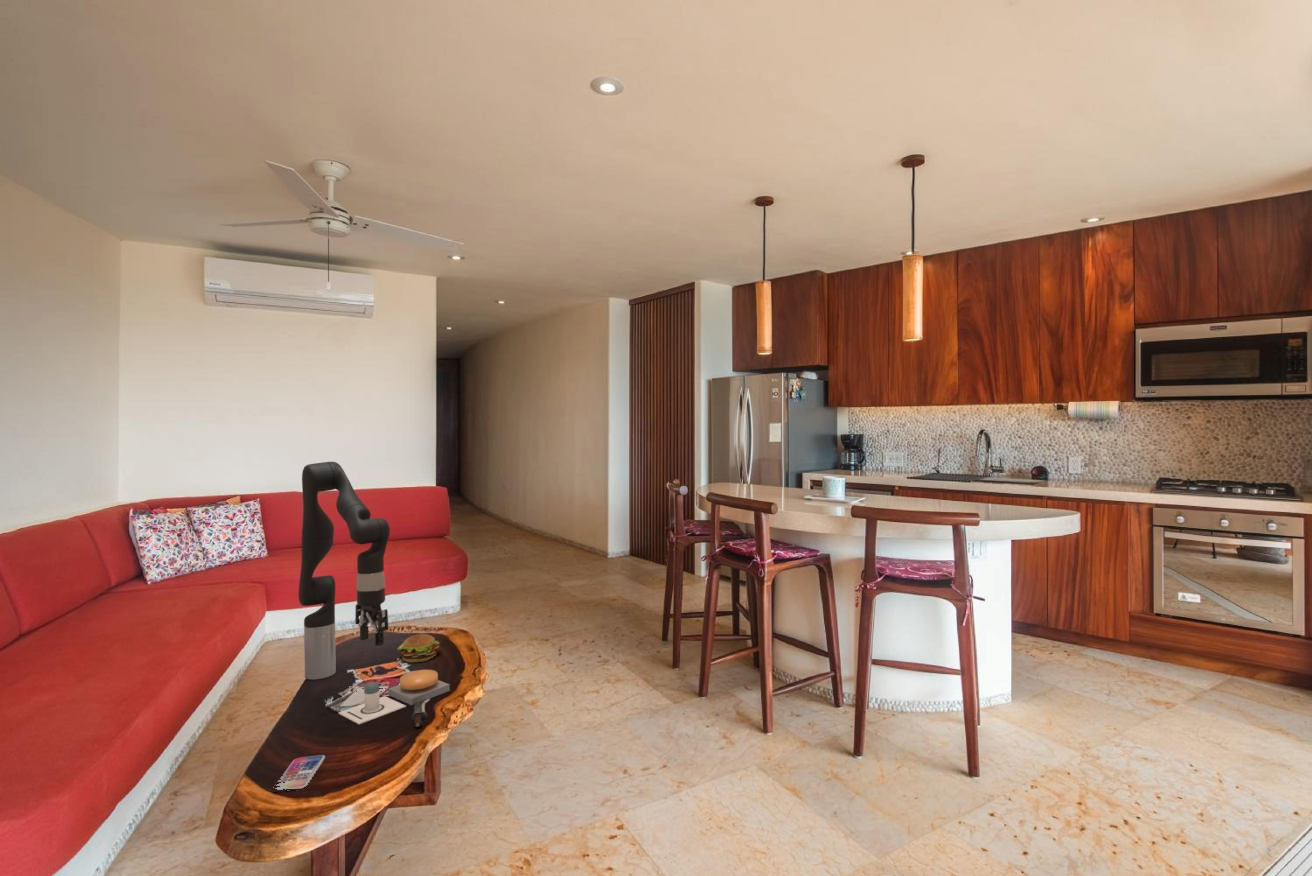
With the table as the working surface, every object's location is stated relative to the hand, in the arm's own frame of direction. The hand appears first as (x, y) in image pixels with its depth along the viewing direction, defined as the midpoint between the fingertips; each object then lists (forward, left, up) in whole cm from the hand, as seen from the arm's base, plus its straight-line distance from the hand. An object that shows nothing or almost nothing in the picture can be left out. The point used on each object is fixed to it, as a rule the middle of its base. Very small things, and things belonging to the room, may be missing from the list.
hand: (371, 642), depth 180 cm
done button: (0, +15, -17) cm, 22 cm away
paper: (0, 0, -20) cm, 20 cm away
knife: (+11, +9, -20) cm, 25 cm away
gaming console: (-12, +4, -20) cm, 24 cm away
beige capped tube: (0, 0, -19) cm, 19 cm away
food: (-30, +33, -20) cm, 49 cm away
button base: (0, +15, -20) cm, 25 cm away
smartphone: (+20, -28, -20) cm, 40 cm away
